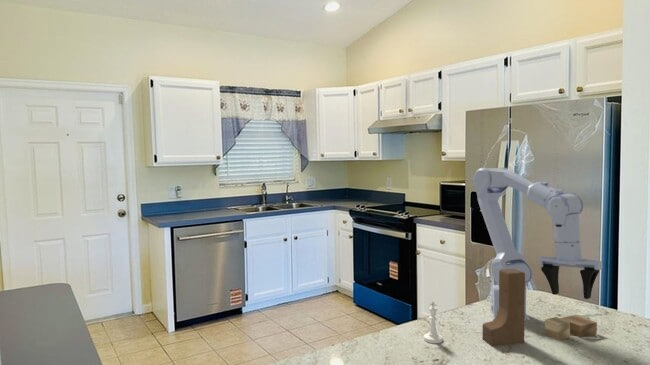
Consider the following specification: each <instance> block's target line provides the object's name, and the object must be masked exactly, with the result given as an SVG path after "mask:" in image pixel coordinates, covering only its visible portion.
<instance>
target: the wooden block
mask: <svg viewBox="0 0 650 365" xmlns="http://www.w3.org/2000/svg"><path fill="white" fill-rule="evenodd" d="M493 318H494V317H493ZM525 321H526V320H525V273H524V272H521V271H519V270H516V269H502V270H499V310H498V314H497V316H496V317H495V318H494V319H492V320H491V321H488V322H483V323H482V337H481V338H482V341H483V342H485V343H486V344H488V345H489V346H490V347H500V346H509V345H511V346H512V345H517V344H525Z"/></svg>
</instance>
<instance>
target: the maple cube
mask: <svg viewBox="0 0 650 365" xmlns="http://www.w3.org/2000/svg"><path fill="white" fill-rule="evenodd" d="M561 318H562V317H558V316H555V317H550V318H546V319H544V335H545V336H547V337H550V338H551V339H554V340H556V341H561V340H567V339H569V338H571V337H570V336H571V334H570V322H568V321H566V320H563V319H561Z"/></svg>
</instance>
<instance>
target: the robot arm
mask: <svg viewBox="0 0 650 365" xmlns="http://www.w3.org/2000/svg"><path fill="white" fill-rule="evenodd" d="M472 183H473V186H474V187H473V188H475V189H474V190H475V192H476V196H477V198H476V199H477V202H478V205H479V206H478V207H479V208H480V211H481V214H482V216H483V221H484V223H485V225H486V229H487V231H488V234H489V237H490V240H491V243H492V246H493V249H494V252H495V255H496V256H495V257H494V259H493V261H492V262H491V265H492V269H493V270H492V272H493V273H492V274H493V279H494V281H495V282H496V284H495V285H493V284H492V285H491V288H490V311H491V314H492V315H493V318H495V317H496V316H497V314H498V310H499V270H502V269H516V270H519V271H521V272H524V273H525V320H524V321H531V319H530V316H528V314H527V287H529V283H530V282H531V281H532V279H533V277H534V272H533V268H532V266H531V265H530V264H529V263H528V262H527V260H526V258H525V256H524V255H523V254H522V253H520V252H519V251H517V250H516V247H515V244H514V242H513V240H512V236H511V234H510V230H509V228H508V226H507V222H506V221H505V217H504V215H503V211H502V209H501V206H500V204H499V200H500V198H501V197H502V196H503V194H504V193H505V192H506V191H507V190H508V188H509V187H510V188H512V189H514V190H517V191H519V192H521V193H524V194H526V195H527V198H528V200H529V201H530V202H532V203H534V204H536V205H537V206H539V207H542V208H544V209H545V210H547V212H548V214H549V215H550V217H551V222H552V224H553V235H554V237H553V238H554V249H555V256H539V257H538V265H539V266H542V267H540V269H541V271H542V274H543V275H544V276H545V278H546V279H547V282H548V285H549V287H550V292H551V294H552V295H554V296H555V295H558V294H560V288H559V287H560V286H559V273H560V267H565V268H576V269H581V270H579V273H580V276H581V281H582V289H583V290H582V291H583V299H585V300H588V299H590V298H592V291H593V288H594V284H595V282H596V279H597V277H598V275H599V273H600V271H601V270H603V261H602V260H595V259H587V258H582V247H581V245H582V244H581V243H582V242H581V230H580V216H579V215H580V214H581V213H582V212H583V209H584V202H583V199H582V198H581V197H580V196H579V195H577V194H576V193H575V192H570V193H565V192H564V189H561V188H555V187H553V186H550V185H549V182H547V181H536V182H532V181H530V180H528V179H526V178H525V177H523V176H521V175H519V174H517V173H515V172H514V171H513V170H512V169H508V168H507V167H496V168H495V167H494V168H493V167H492V168H490V167H489V168H484V167H480V168H478V169H476V172H475V173H474V176H473V179H472Z"/></svg>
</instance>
